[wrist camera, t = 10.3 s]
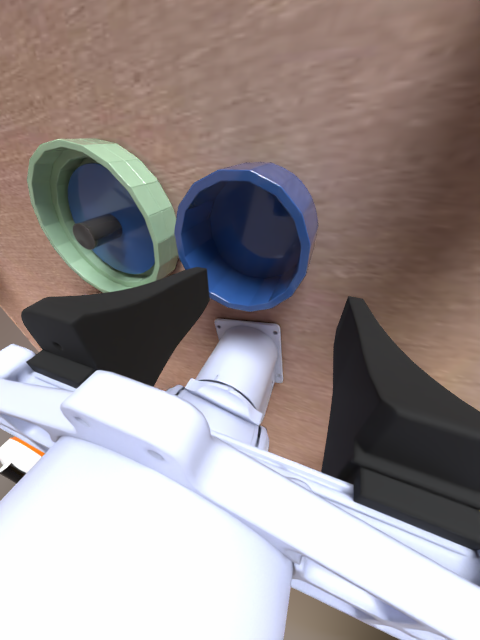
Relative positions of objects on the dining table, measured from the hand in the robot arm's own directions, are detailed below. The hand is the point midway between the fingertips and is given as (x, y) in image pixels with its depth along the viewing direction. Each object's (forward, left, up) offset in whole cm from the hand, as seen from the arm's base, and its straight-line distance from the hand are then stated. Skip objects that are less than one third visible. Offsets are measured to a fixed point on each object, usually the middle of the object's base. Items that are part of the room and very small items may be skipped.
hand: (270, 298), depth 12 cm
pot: (+1, +4, -10) cm, 11 cm away
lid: (+2, +19, -9) cm, 21 cm away
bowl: (+2, +19, -10) cm, 21 cm away
